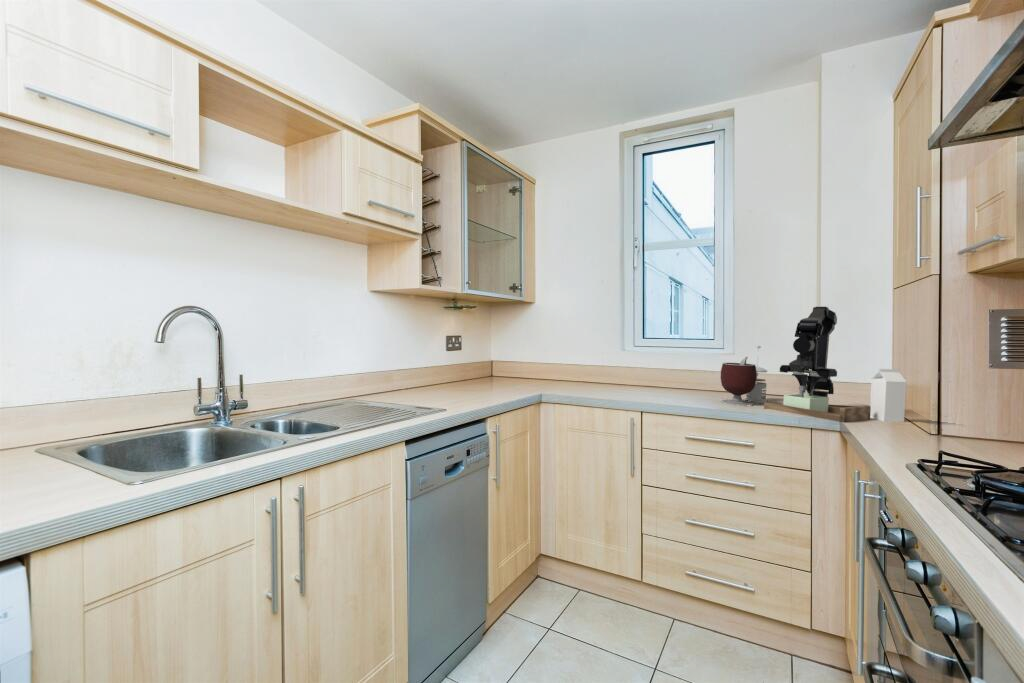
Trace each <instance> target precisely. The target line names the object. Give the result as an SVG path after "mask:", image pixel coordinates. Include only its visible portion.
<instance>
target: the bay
mask: <svg viewBox="0 0 1024 683" xmlns="http://www.w3.org/2000/svg"><path fill="white" fill-rule="evenodd" d="M763 409H764V410H772V411H773V410H774V411H779V412H784V413H790V414H795V415H799V416H807V417H812V418H817V419H822V420H823V419H824V420H829V421H834V422H839V423H851V422H857V421H858V422H859V421H866V420H867V421H868V420H871V418H870V411H871V406H870V405H858V406H847V407H834V406H830V405H828V412H822V411H816V410H810V409H804V408H798V407H792V406H786V405H783V404H779V403H775V402H769V401H768V402H764V403H763Z"/></svg>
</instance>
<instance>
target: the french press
mask: <svg viewBox="0 0 1024 683" xmlns="http://www.w3.org/2000/svg"><path fill="white" fill-rule="evenodd" d="M755 348H756V349H757V351H759V349H761V345H759V344H758V345H756V346H755ZM756 359H757V360H756V361H757V362H756V364H757V365H756V372H757V377H756V384H755V387H754V389H753V390H752V391H751V392H749V393H746V394H745V395H746V398H744V399H743V401H745V400H748V401H747V402H750V401H755V402H754V403H760V402H767V401H768V400H767V383H766V379H763V378H758V376H759V373H767V372H768V370H767V369H765V368H763V367H760V366H759V357H757V358H756Z"/></svg>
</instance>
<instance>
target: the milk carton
mask: <svg viewBox="0 0 1024 683" xmlns="http://www.w3.org/2000/svg"><path fill="white" fill-rule="evenodd" d="M906 395H907V381H906V379H905V377H904V376H903V375H902V374H901V373H900V369H897V368H895V369H894V368H892V369H890V368H879V369H878V372H877V373H876V374H875V375H874V376H873V377H872V378H871V383H870V400H869V402H870V403H869V406H871V411H870V419H873V420H878V421H880V422H881V421H882V422H891V423H892V422H894V423H896V422H897V423H898V422H899V423H900V422H901V423H905V411H906V410H905V409H906Z"/></svg>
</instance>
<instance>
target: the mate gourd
mask: <svg viewBox="0 0 1024 683" xmlns="http://www.w3.org/2000/svg"><path fill="white" fill-rule="evenodd" d="M747 360H748V356H745V357H744V358H743V359H742V360H741V361H740V362H722V365H721V368H720V383H721V387H722V388H723V389H724V391H726V392H728V393H730V394H732V395H733V398H732V399H722V400H721V403H722V404H724V403H726V404H725V405H728V404H732V405H731V406H736V405H752V406H754V402H750V401H745V400H743V398H742V396H744V395H746V393H749V392H751V391H752V390H753V389H754V387H755V384H756V378H758V376H757V373H758V372H756V367H757V365H756V364H754V363H747Z"/></svg>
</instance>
